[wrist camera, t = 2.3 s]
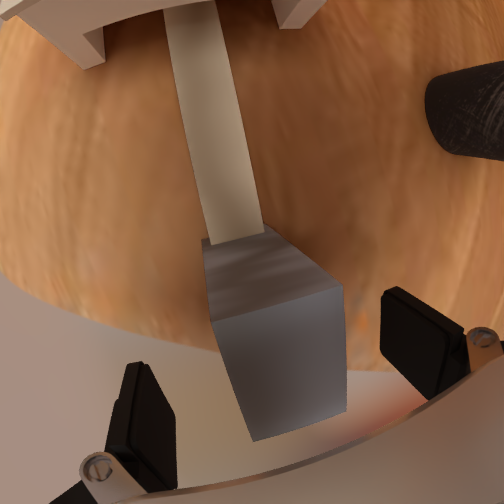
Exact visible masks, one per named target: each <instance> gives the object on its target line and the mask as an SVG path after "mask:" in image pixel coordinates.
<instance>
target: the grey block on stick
mask: <svg viewBox="0 0 504 504" xmlns="http://www.w3.org/2000/svg"><path fill="white" fill-rule="evenodd" d="M163 14H164V20H165V26H166V32H167V38H168V44H169V50H170V56H171V62H172V67H173V73H174V78H175V83H176V89H177V94H178V99H179V104H180V109H181V114H182V119H183V124H184V129H185V134H186V138H187V143H188V148H189V152H190V157H191V162H192V166H193V171H194V175H195V180H196V184H197V188H198V193H199V197H200V201H201V205H202V210H203V214H204V218H205V222H206V226H207V230H208V234H209V238H206V239H202V250H203V260H204V269H205V279H206V287H207V296H208V304H209V312H210V320H211V325H212V328H213V331H214V334H215V337H216V340H217V343H218V346H219V349H220V352H221V355H222V358H223V361H224V364H225V367H226V370H227V373H228V376H229V378H230V381H231V384H232V387H233V390H234V393H235V395H236V398H237V401H238V404H239V406H240V409H241V412H242V414H243V417H244V420H245V422H246V425H247V428H248V430H249V433H250V435H251V438H252V440H253V442H255V441H259V440H262V439H266V438H270V437H273V436H277V435H280V434H283V433H287V432H290V431H293V430H296V429H299V428H302V427H305V426H308V425H311V424H314V423H317V422H320V421H322V420H325V419H327V418H330V417H333V416H335V415H338V414H340V413H343V412H345V411H346V403H347V397H346V396H347V393H346V392H347V365H346V331H345V312H344V296H343V285H342V284H341V283H340V282H339V281H337V280H336V279H335V278H334V277H332V276H331V275H330V274H329V273H327V272H326V271H325V270H324V269H322V268H321V267H320V266H319V265H317V264H316V263H315V262H314V261H312V260H311V259H310V258H309V257H307V256H306V255H305V254H304V253H302V252H301V251H300V250H299V249H297V248H296V247H295V246H293V245H292V244H291V243H290V242H288V241H287V240H286V239H285V238H283V237H282V236H281V235H279V234H278V233H277V232H275V231H274V230H273V229H272V228H270V227H269V226H268V225H266V224H263V220H262V215H261V210H260V205H259V200H258V195H257V190H256V185H255V181H254V176H253V171H252V166H251V161H250V156H249V152H248V147H247V142H246V137H245V133H244V128H243V123H242V118H241V114H240V109H239V105H238V100H237V95H236V91H235V86H234V82H233V77H232V73H231V68H230V64H229V59H228V55H227V51H226V46H225V42H224V37H223V33H222V29H221V25H220V20H219V16H218V12H217V8H216V3H215V0H209V1H202V2H196V3H190V4H184V5H179V6H174V7H169V8H164V9H163Z"/></svg>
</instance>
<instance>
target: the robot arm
mask: <svg viewBox="0 0 504 504" xmlns="http://www.w3.org/2000/svg"><path fill="white" fill-rule="evenodd" d="M463 332H464V328H463V327H461V326H460V325H458V324H457V323H455V322H454V321H452V320H451V319H449V318H448V317H446V316H444V315H443V314H441V313H440V312H438V311H437V310H435V309H433V308H432V307H430V306H429V305H427V304H426V303H424V302H422V301H421V300H419V299H418V298H416V297H414V296H413V295H411V294H410V293H408V292H406V291H405V290H403V289H401V288H400V287H398V286H395V287H393V288H390V289H388V290H385V291H384V293H383V295H382V296H381V325H380V351H381V353H382V355H383V356H384V357H385V358H386V359H387V360H388V361H389V362H390V363H391V364H392V365H393V366H394V367H395V368H396V369H397V370H398V371H399V372H400V373H401V374H402V375H403V376H404V377H405V378H406V379H407V380H408V381H409V382H410V383H411V384H412V385H413V386H414V387H415V388H416V389H417V390H418V391H419V392H420V393H421V394H422V395H423V396H424V397H425V398H426V399H427V400H429V401H428V402H426V403H424V404H423V405H421V406H420V407H418V408H416V409H415V410H413V411H411V412H409V413H408V414H406V415H404V416H402V417H400V418H399V419H397V420H395V421H393V422H391V423H389V424H387V425H385V426H383V427H382V428H380V429H378V430H376V431H374V432H372V433H370V434H367V435H365V436H363V437H361V438H359V439H356V440H354V441H352V442H350V443H347V444H345V445H343V446H340V447H338V448H335V449H333V450H330V451H328V452H325V453H323V454H320V455H317V456H314V457H312V458H309V459H306V460H303V461H300V462H297V463H294V464H291V465H288V466H285V467H281V468H278V469H274V470H271V471H267V472H263V473H260V474H256V475H252V476H248V477H243V478H239V479H234V480H229V481H224V482H219V483H214V484H209V485H203V486H196V487H190V488H182V489H177V487H178V482H177V461H176V419H175V414H174V412H173V410H172V408H171V406H170V404H169V403H168V401H167V399H166V397H165V396H164V394H163V392H162V390H161V388H160V386H159V384H158V382H157V380H156V378H155V376H154V374H153V372H152V370H151V369H150V366H149V365H148V364H144V363H143V362H142V361H139V362H134V363H129V364H127V366H126V370H125V374H124V377H123V381H122V385H121V390H120V394H119V398H118V399H117V400H116V401H115V404H114V407H113V412H112V416H111V421H110V425H109V431H108V435H107V440H106V445H105V450H104V452H96V453H93V454H91V455H89V456H87V457H86V458H85V459H84V460H83V462H82V463H81V465H80V469H79V474H80V477H81V479H82V480H81V481H79V482H78V483H77V484H75V485H74V486H73V487H71V488H70V489H69V490H67V491H66V492H64V493H63V494H62V495H60V496H59V497H57V498H56V499H54V500H53V501H52V502H50V503H49V504H504V341H500V339H499V337H498V335H497V333H496V332H495V331H493V330H491V329H489V328H486V327H477V328H473V329H471V330H470V331H469V332H468V333H467V335H465V334H463ZM174 489H175V490H174Z"/></svg>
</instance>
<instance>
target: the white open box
mask: <svg viewBox="0 0 504 504" xmlns="http://www.w3.org/2000/svg"><path fill="white" fill-rule="evenodd" d="M202 1H209V0H2V2H1V6H0V17H1V18H2V19H3V20H5V21H7V20H9V19H10V18H12V17H13V16H15V15H17V16H19V17H20V18H21V19H22V20H24V21H25V22H26V23H27V24H29V25H30V26H31V27H32V28H34V29H35V30H36V31H37V32H39V33H40V34H41V35H42V36H43V37H45V38H46V39H47V40H48V41H50V42H51V43H52V44H53V45H54V46H56V47H57V48H58V49H59V50H60V51H62V52H63V53H64V54H65V55H66V56H68V57H69V58H70V59H71V60H72V61H74V62H75V63H76V64H77V65H78V66H80V67H81V68H82V69H83V70H86V69H88V68H91V67H93V66H96V65H99V64H101V63H104V62H106V59H105V49H104V37H103V26H105V25H108V24H111V23H114V22H117V21H120V20H123V19H126V18H130V17H133V16H137V15H140V14H144V13H148V12H152V11H156V10H160V9H164V8H169V7H174V6H179V5H184V4H190V3H196V2H202ZM327 1H328V0H271V2H272V5H273V9H274V12H275V15H276V19H277V22H278V26H279V29H301V28H302V27H303V26H304V25H305V24H306V23H307V22H308V20H309V19H310V18H311V17H312V16H313V15H314V14H315V13H316V12H317V11H318V10H319V9H320V8H321V7H322V6H323V5H324V4H325V3H326V2H327Z"/></svg>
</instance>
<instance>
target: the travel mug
mask: <svg viewBox="0 0 504 504" xmlns="http://www.w3.org/2000/svg"><path fill="white" fill-rule="evenodd" d="M425 109H426V115H427V119H428V123H429V126H430V128H431V131H432V133H433V135H434V136H435V138H436V140H437V141H438V143H439V144H440V145H441V146H442V147H443V148H444V149H445V150H446V151H448V152H450V153H452V154H456V155H463V156H471V157H478V158H486V159H492V160H499V161H504V61H499V62H494V63H489V64H484V65H479V66H475V67H471V68H466V69H462V70H458V71H454V72H450V73H447V74H444V75H440V76H438V77H435V78H434V79H432V80H431V81H430V83H429V84H428V87H427V90H426V94H425Z"/></svg>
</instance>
